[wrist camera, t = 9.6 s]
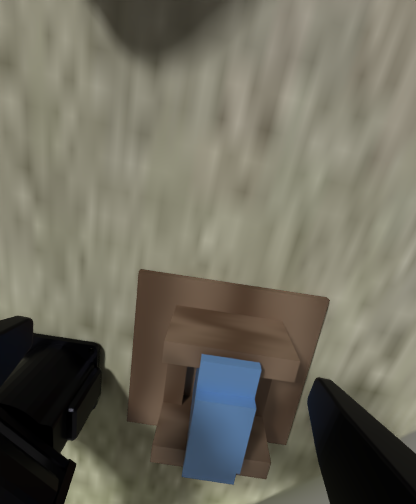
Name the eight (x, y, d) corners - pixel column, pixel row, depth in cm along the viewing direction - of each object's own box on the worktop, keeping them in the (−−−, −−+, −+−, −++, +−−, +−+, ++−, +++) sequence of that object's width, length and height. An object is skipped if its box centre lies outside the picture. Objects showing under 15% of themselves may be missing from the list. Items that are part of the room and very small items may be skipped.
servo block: (190, 407, 22) (180, 489, 16) (205, 313, 20) (200, 369, 14) (229, 413, 22) (234, 497, 16) (250, 320, 20) (263, 379, 14)
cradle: (128, 416, 23) (105, 478, 18) (140, 269, 19) (115, 299, 15) (284, 439, 23) (301, 507, 18) (326, 297, 19) (362, 336, 15)
